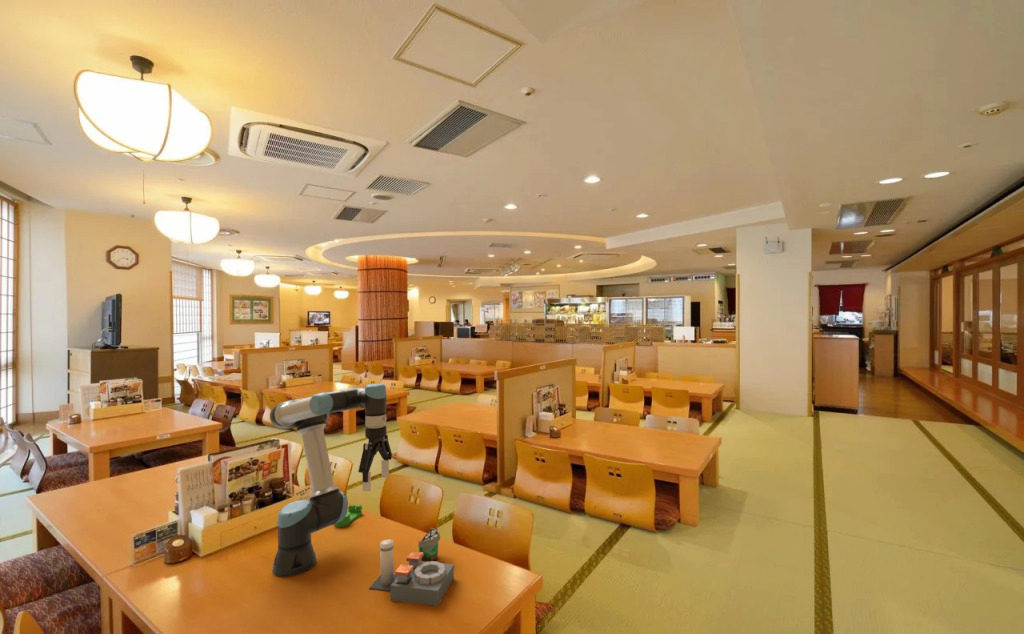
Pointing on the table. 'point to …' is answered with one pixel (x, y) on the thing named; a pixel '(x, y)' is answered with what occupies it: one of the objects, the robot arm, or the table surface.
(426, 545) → the food container
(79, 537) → the table surface
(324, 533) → the table surface
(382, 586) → the mat
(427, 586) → the housing
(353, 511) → the tape dispenser
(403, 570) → the plunger
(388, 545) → the cartridge
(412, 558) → the plunger
